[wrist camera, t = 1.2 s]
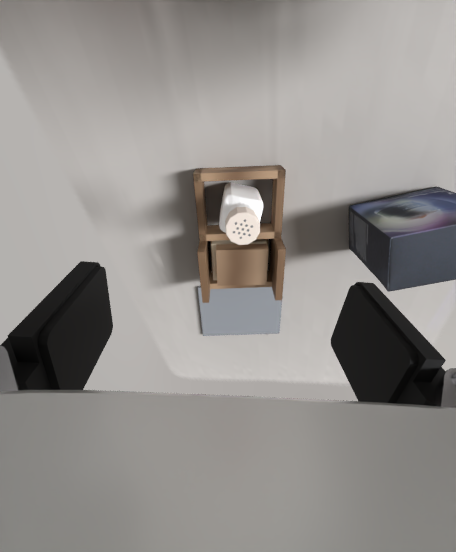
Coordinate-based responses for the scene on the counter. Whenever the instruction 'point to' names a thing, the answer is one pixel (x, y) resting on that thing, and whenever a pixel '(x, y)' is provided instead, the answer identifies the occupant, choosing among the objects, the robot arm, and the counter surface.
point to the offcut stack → (239, 262)
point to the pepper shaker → (241, 213)
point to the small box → (406, 237)
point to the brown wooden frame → (216, 234)
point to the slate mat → (240, 311)
